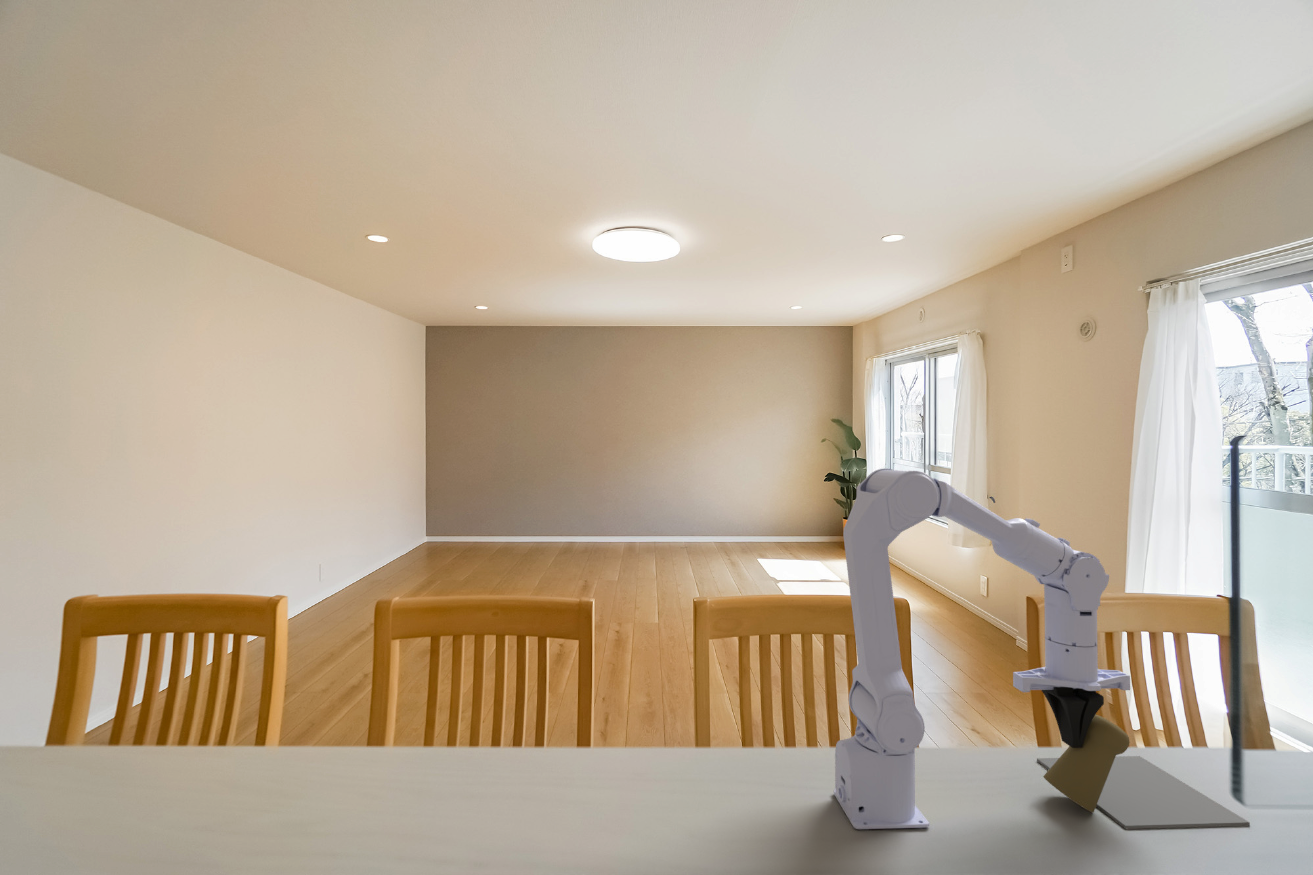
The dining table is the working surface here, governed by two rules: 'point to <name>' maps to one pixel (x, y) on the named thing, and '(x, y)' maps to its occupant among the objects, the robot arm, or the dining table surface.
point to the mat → (1155, 798)
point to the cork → (1088, 763)
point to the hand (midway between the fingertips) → (1072, 744)
